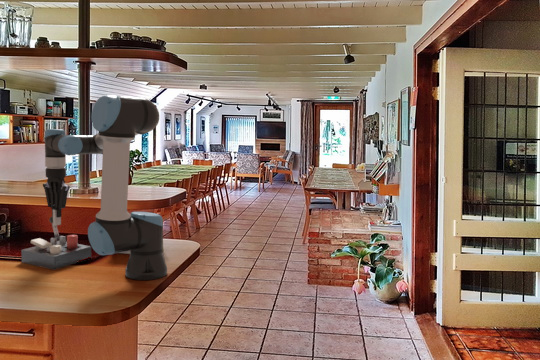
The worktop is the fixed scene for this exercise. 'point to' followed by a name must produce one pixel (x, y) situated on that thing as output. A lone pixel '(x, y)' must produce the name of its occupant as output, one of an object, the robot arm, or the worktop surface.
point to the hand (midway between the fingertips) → (57, 224)
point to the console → (55, 255)
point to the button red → (72, 241)
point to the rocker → (41, 243)
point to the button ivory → (55, 249)
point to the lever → (54, 228)
